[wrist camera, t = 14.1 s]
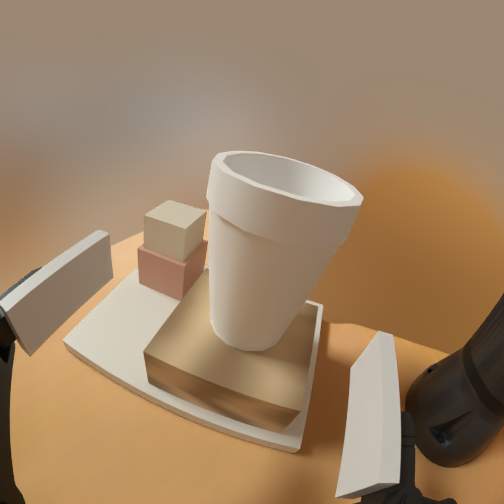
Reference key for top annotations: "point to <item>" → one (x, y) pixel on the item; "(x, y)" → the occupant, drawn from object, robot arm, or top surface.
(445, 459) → the robot arm
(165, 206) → the terracotta tower
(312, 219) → the foam cup
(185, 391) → the oak plinth
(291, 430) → the white board
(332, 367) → the top surface
